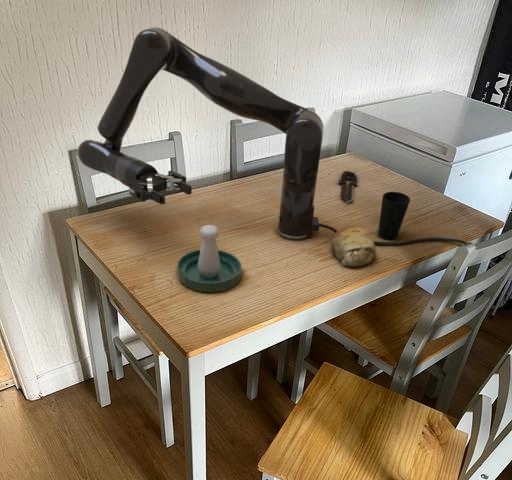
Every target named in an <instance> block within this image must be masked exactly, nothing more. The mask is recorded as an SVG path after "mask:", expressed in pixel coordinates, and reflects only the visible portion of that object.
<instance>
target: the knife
mask: <svg viewBox="0 0 512 480" xmlns="http://www.w3.org/2000/svg"><path fill="white" fill-rule="evenodd" d="M342 172H343V173H342V174H341V177H340V179H338V183H337V185H340V186H341V188H340V196H339V197H340V198H341V199H342V200H343V201H346V204H349V203H350V202H352V201H353V197H354V188H355V187H358V182H357V174H356V173H355V172H354V171H353V172H352V171H350V170H345V171H342ZM348 181H349V182H348Z"/></svg>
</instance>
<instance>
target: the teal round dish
mask: <svg viewBox="0 0 512 480" xmlns="http://www.w3.org/2000/svg"><path fill="white" fill-rule="evenodd" d="M200 250H201V249H196V250H193V251H190V252H186V253H185V254H183V255H181V257H179V259H178V261H177V263H176V276H177V278H178V280H179V282H180V283H181V284H182V285H183V286H185V287H186V288H189V289H191V290H193V291H198V292H201V293H217V292H222V291H226V290H228V289H231V288H233V287H234V286H236V285H237V284H238V283H239V282H240V280H241V278H242V263H241V260H239V258H238V257H236V255H234V254H232V253H230V252H228V251H225V250H220V249H218V253H219V258H220V264H221V268H220V270H219V272H218V274H217V276H216V277H213V278H205V277H203V275H202V274H201V272H200V271H199V269H198V261H199V255H200Z"/></svg>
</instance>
